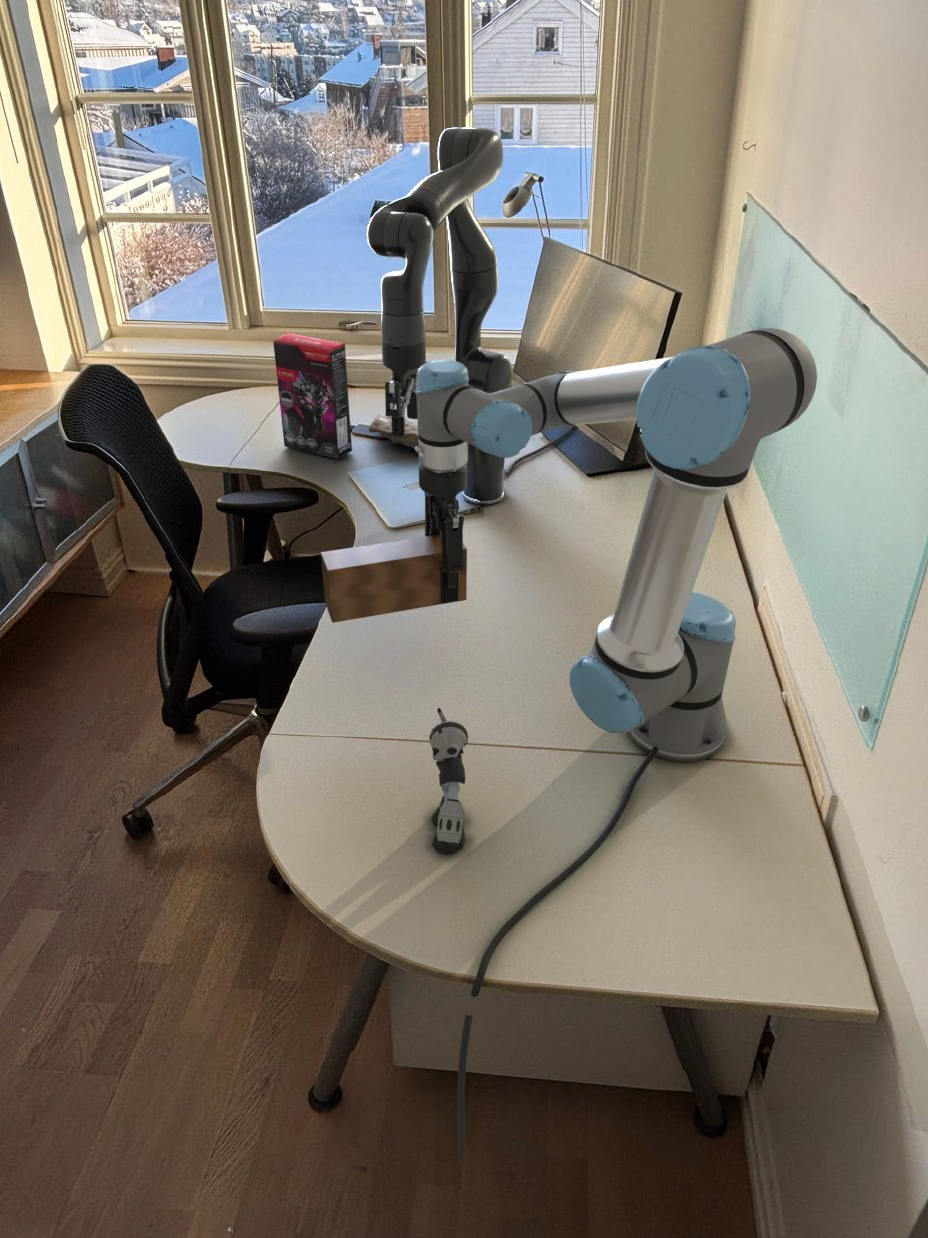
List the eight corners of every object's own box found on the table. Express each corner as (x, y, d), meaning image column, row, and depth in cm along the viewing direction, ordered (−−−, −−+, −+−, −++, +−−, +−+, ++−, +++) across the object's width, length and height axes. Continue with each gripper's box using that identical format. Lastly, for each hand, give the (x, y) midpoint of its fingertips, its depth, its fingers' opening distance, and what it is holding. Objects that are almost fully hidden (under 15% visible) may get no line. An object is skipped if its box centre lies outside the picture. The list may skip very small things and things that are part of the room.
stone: (352, 437, 229) (357, 414, 227) (374, 429, 242) (378, 406, 240) (431, 462, 226) (437, 438, 223) (448, 452, 239) (454, 429, 237)
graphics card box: (282, 447, 232) (270, 339, 217) (298, 438, 237) (288, 331, 222) (338, 461, 225) (330, 350, 210) (354, 451, 230) (347, 342, 215)
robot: (470, 888, 117) (472, 772, 106) (432, 889, 117) (430, 773, 106) (463, 780, 133) (464, 669, 122) (429, 781, 133) (427, 670, 122)
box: (455, 582, 158) (455, 531, 153) (466, 600, 153) (467, 548, 148) (325, 603, 152) (320, 552, 147) (332, 623, 148) (327, 570, 142)
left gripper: (396, 323, 164) (399, 410, 173) (368, 347, 153) (373, 439, 162) (436, 327, 163) (437, 415, 172) (411, 351, 151) (413, 444, 160)
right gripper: (403, 443, 148) (407, 567, 161) (437, 492, 133) (438, 625, 146) (447, 437, 150) (448, 560, 163) (486, 486, 135) (483, 617, 148)
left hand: (406, 426), depth 167 cm, fingers open, 8 cm apart
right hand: (443, 590), depth 155 cm, fingers closed on box, 6 cm apart
